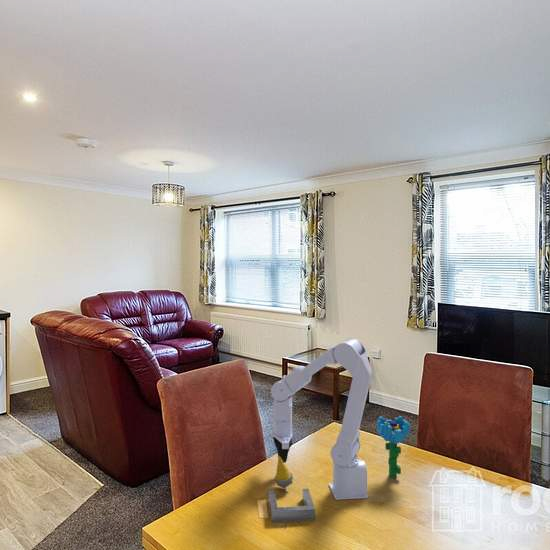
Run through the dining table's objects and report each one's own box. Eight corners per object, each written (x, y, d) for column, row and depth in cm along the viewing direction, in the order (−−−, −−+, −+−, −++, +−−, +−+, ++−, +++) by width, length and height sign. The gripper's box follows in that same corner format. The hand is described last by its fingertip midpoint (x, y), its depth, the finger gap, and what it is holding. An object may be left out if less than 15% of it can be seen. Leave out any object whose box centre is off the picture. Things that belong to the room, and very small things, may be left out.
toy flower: (374, 469, 129) (374, 414, 128) (401, 469, 129) (402, 413, 129) (383, 485, 120) (384, 425, 119) (412, 484, 120) (413, 424, 120)
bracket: (308, 499, 112) (308, 488, 112) (315, 520, 103) (315, 509, 103) (268, 501, 111) (268, 490, 111) (271, 523, 102) (271, 511, 102)
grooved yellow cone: (293, 493, 114) (286, 458, 114) (275, 495, 115) (268, 460, 115) (296, 483, 119) (289, 450, 120) (278, 485, 120) (272, 452, 121)
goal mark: (265, 500, 112) (265, 499, 112) (268, 518, 104) (268, 517, 104) (257, 500, 111) (257, 500, 111) (259, 518, 103) (259, 517, 103)
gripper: (268, 410, 132) (267, 451, 132) (272, 428, 117) (271, 474, 118) (289, 409, 132) (288, 450, 133) (296, 427, 118) (295, 473, 118)
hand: (282, 461), depth 125 cm, fingers closed
